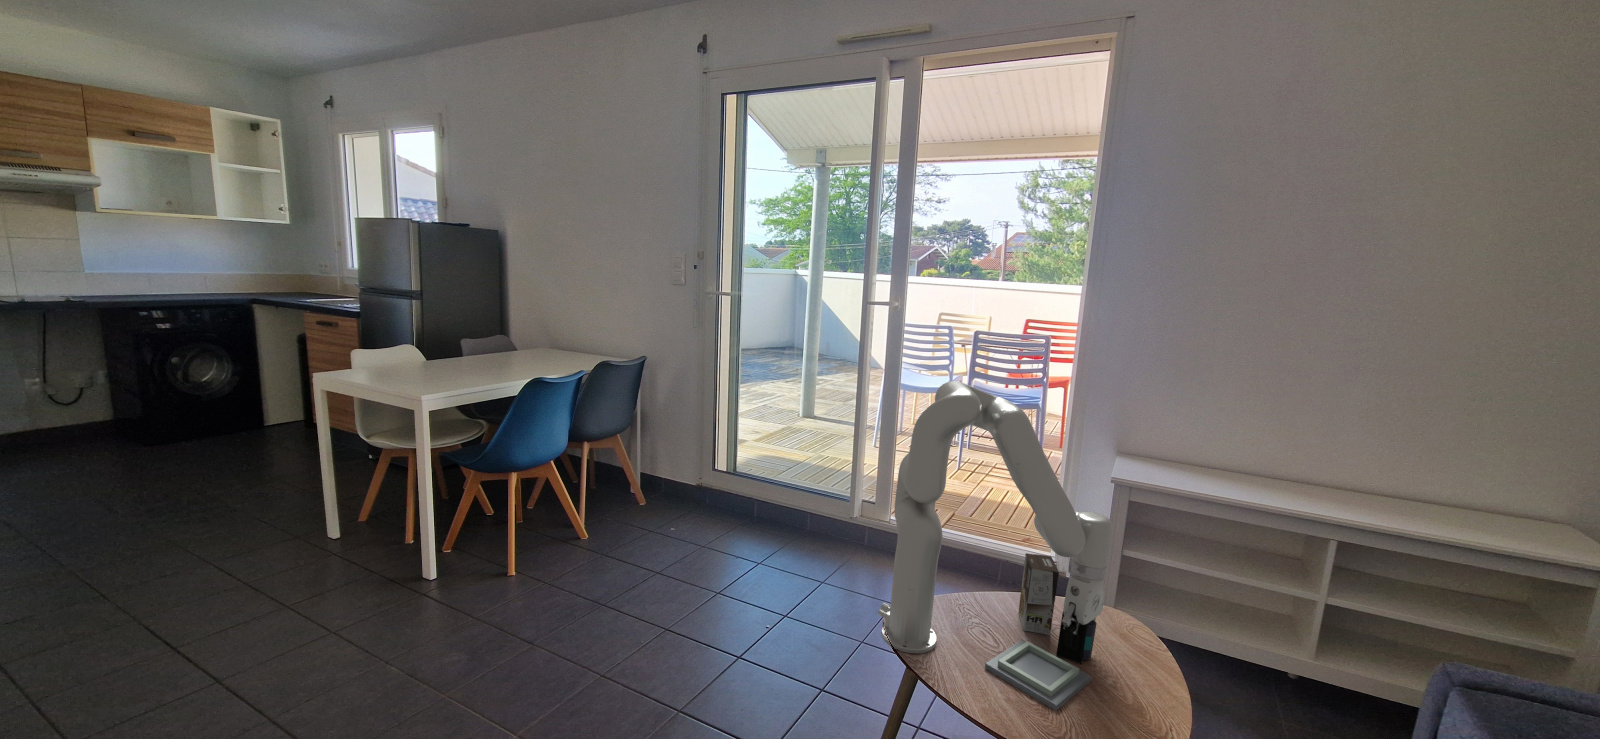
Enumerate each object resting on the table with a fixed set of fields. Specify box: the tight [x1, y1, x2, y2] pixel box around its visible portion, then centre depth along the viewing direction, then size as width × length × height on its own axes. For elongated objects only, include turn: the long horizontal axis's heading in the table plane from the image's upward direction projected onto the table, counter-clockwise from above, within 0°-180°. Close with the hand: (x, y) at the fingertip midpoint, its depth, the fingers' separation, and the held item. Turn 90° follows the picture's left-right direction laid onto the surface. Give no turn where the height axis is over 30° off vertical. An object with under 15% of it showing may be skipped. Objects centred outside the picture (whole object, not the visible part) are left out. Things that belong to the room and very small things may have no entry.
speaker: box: [1055, 612, 1097, 666], centre depth 139 cm, size 8×6×10 cm
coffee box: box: [1018, 553, 1060, 636], centre depth 150 cm, size 9×6×16 cm
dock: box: [984, 639, 1092, 711], centre depth 131 cm, size 16×15×2 cm
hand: (1077, 641), depth 140 cm, fingers closed on speaker, 6 cm apart
